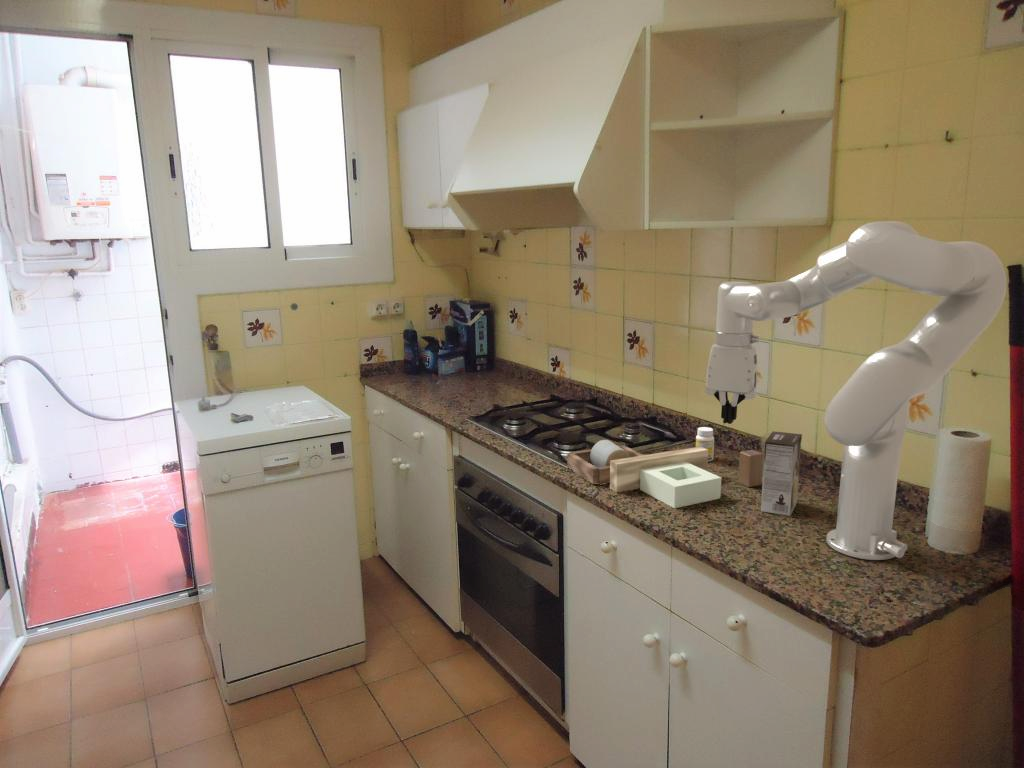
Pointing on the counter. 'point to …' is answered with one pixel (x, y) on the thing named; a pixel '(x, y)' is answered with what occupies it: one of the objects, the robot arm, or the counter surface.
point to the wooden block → (750, 468)
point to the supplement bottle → (706, 440)
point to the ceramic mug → (606, 453)
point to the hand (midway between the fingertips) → (728, 422)
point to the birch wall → (628, 469)
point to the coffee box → (781, 473)
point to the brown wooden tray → (587, 470)
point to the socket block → (680, 484)
